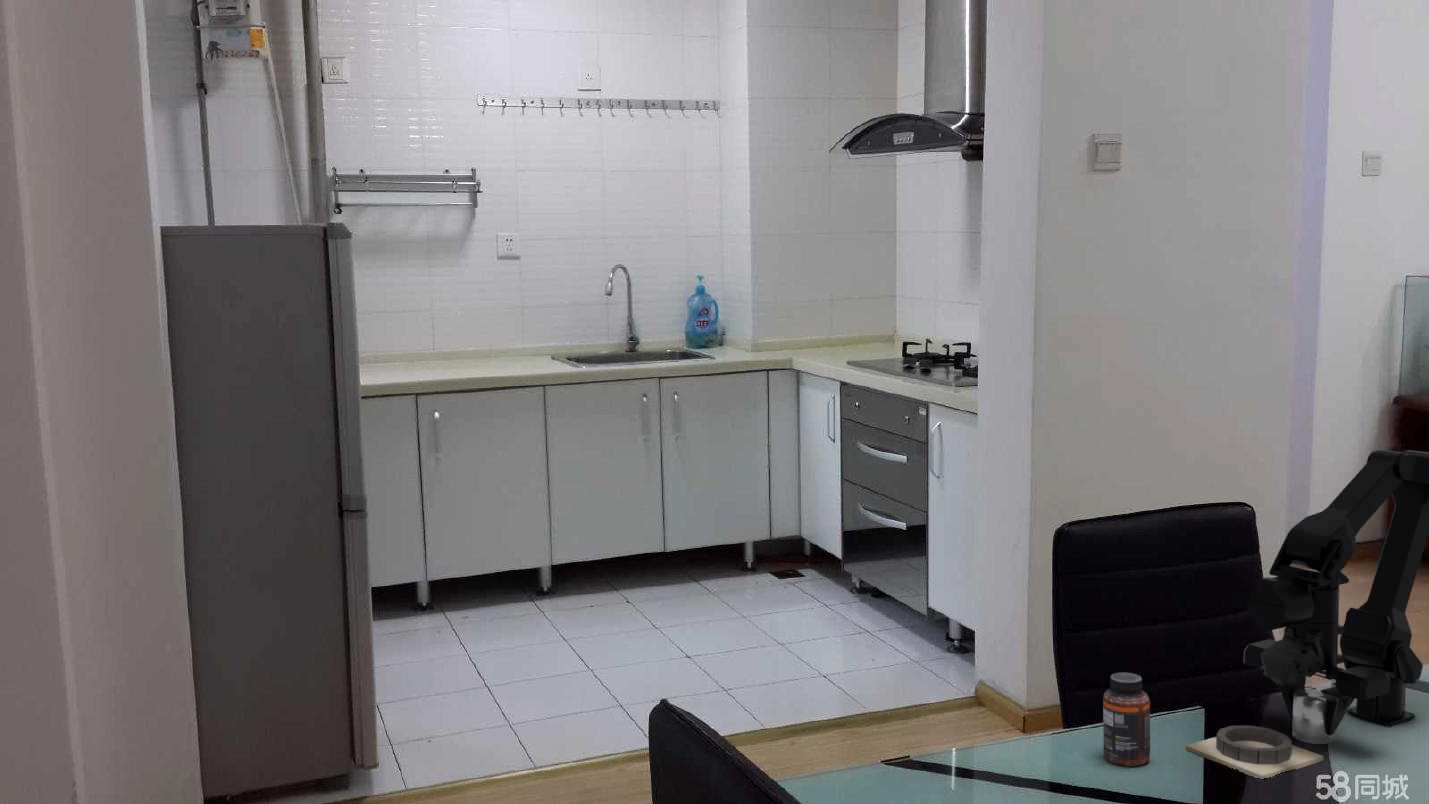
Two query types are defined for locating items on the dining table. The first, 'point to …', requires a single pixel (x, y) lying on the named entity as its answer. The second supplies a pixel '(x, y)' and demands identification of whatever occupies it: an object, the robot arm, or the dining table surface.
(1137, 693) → the supplement bottle
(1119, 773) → the dining table surface
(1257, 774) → the ring seat
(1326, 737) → the cylinder
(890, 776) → the dining table surface
